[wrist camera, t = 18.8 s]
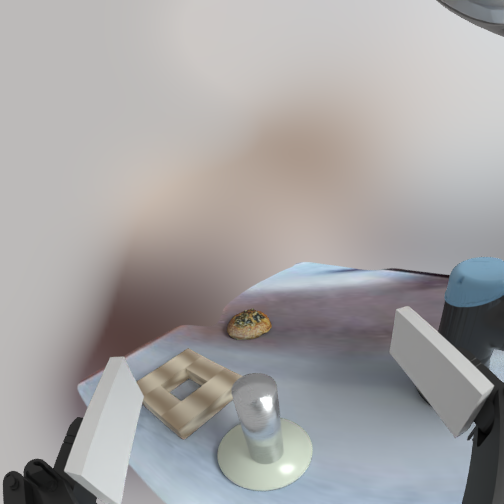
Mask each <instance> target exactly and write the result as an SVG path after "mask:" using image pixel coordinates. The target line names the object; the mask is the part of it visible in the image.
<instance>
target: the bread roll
mask: <svg viewBox="0 0 504 504" xmlns="http://www.w3.org/2000/svg"><path fill="white" fill-rule="evenodd" d="M271 326H272V325H271V322H270V320H269V318H268V317H267V315H265V314H264V313H262V312H261V311H256V310H254V309H253V308H252V309H250V310H245V311H243V312H241V313H239V314H237V315H235V316H233V318H232V319H231V320H230V322H229V324H228V327H227V332H228V334H229V336H231V337H232V338H235V339H236V340H248V339H254V338H257V337H259V336H261V335H262V334H264V333H266V332H267V331H269V330H270V328H271Z"/></svg>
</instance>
